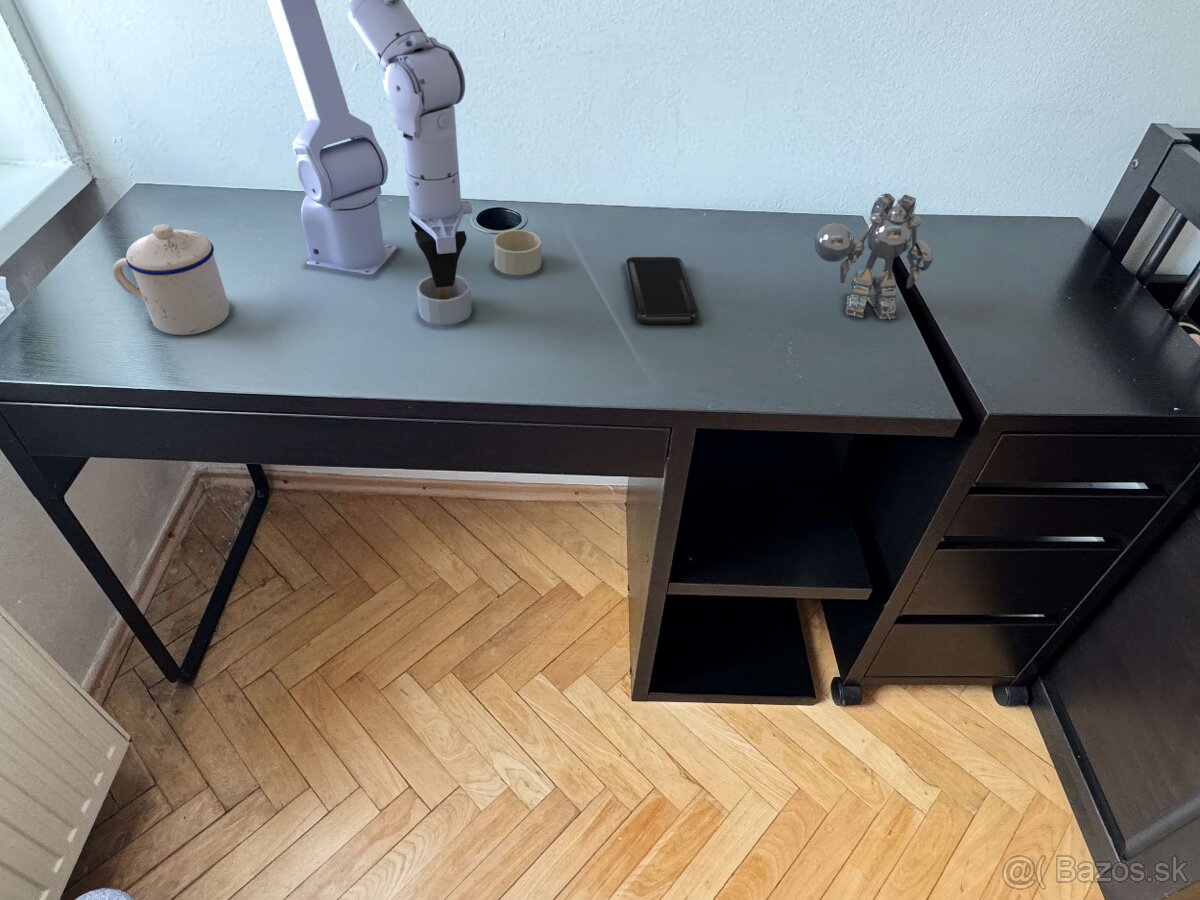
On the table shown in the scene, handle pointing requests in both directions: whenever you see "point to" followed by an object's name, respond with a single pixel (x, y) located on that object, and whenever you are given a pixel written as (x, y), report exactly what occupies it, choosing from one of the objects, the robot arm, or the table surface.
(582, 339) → the table surface
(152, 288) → the teacup with lid
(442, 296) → the wooden wall peg
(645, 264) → the phone
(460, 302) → the grey cup
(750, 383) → the table surface
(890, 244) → the robot toy
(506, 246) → the cream cup
